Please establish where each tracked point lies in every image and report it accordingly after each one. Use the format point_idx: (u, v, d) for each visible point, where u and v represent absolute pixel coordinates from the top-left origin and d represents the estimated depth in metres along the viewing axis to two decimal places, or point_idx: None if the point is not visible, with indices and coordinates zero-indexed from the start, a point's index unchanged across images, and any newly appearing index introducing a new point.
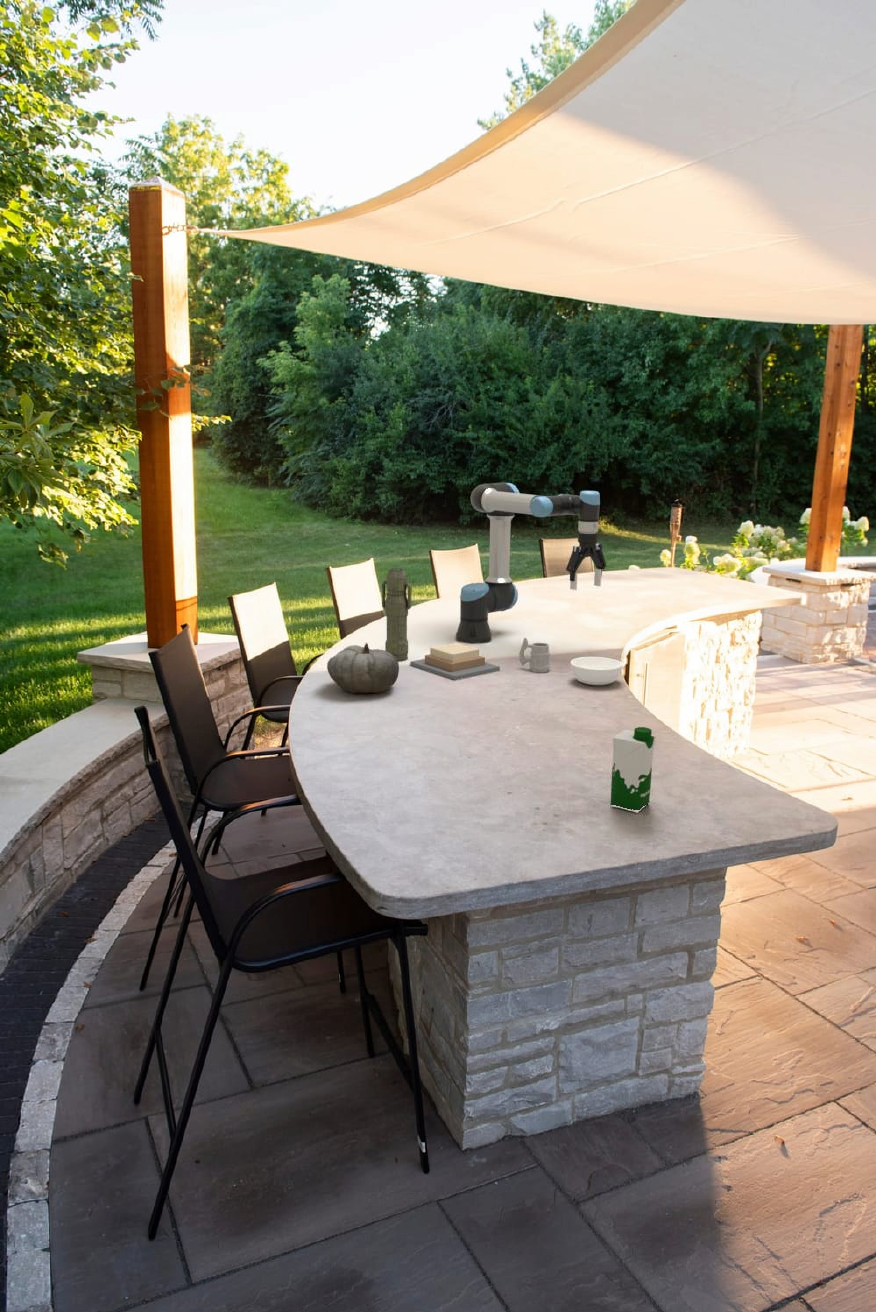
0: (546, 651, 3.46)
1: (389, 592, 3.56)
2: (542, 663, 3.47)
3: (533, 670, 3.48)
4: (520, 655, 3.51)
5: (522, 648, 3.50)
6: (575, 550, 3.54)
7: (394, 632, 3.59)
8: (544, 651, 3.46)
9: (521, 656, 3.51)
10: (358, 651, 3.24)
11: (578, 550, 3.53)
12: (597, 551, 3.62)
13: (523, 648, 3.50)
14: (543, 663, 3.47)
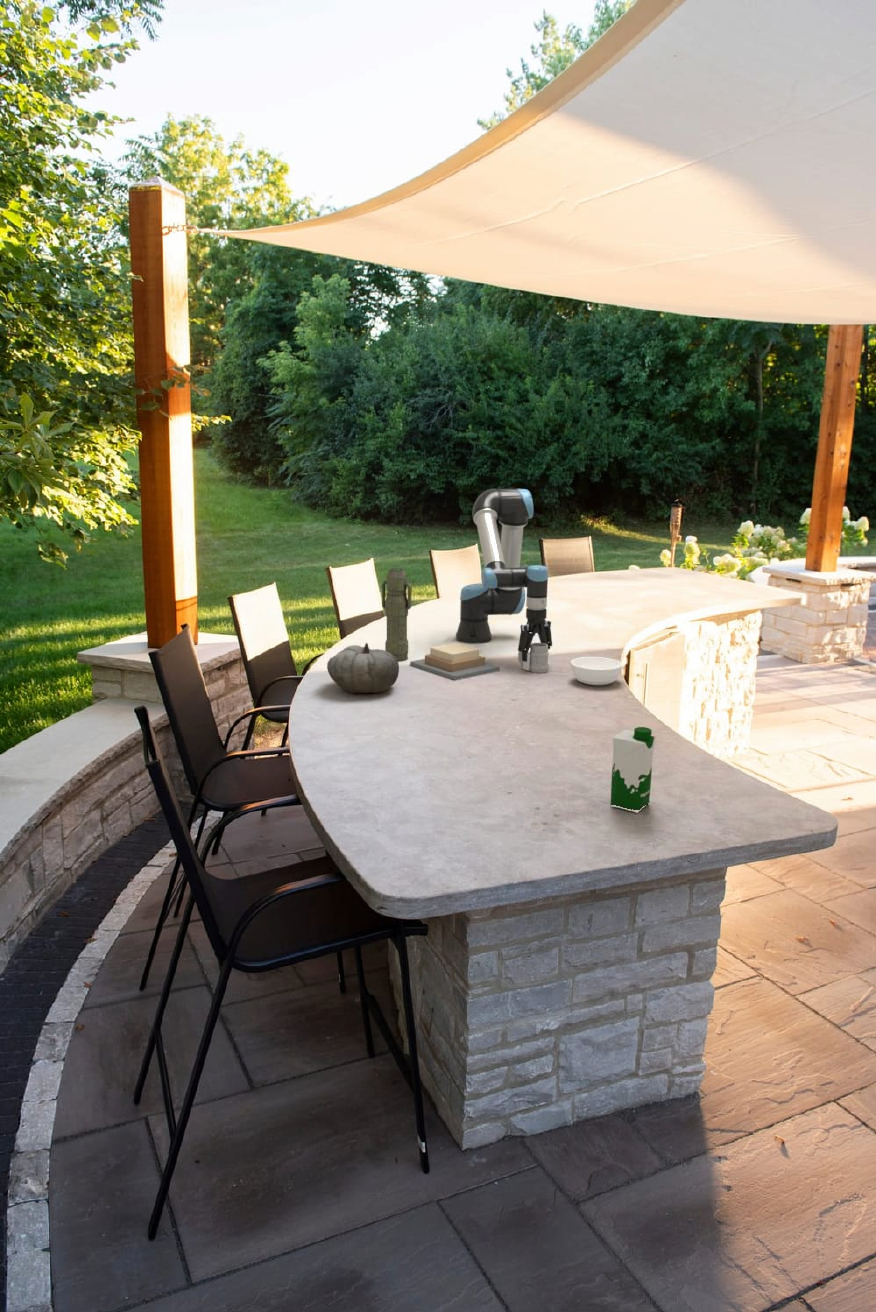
0: (545, 651, 3.46)
1: (389, 592, 3.56)
2: (541, 663, 3.46)
3: (532, 670, 3.48)
4: (519, 655, 3.51)
5: (521, 648, 3.50)
6: (523, 630, 3.43)
7: (394, 632, 3.59)
8: (543, 651, 3.46)
9: (520, 656, 3.51)
10: (358, 651, 3.24)
11: (526, 629, 3.43)
12: (545, 628, 3.51)
13: None
14: (542, 663, 3.46)
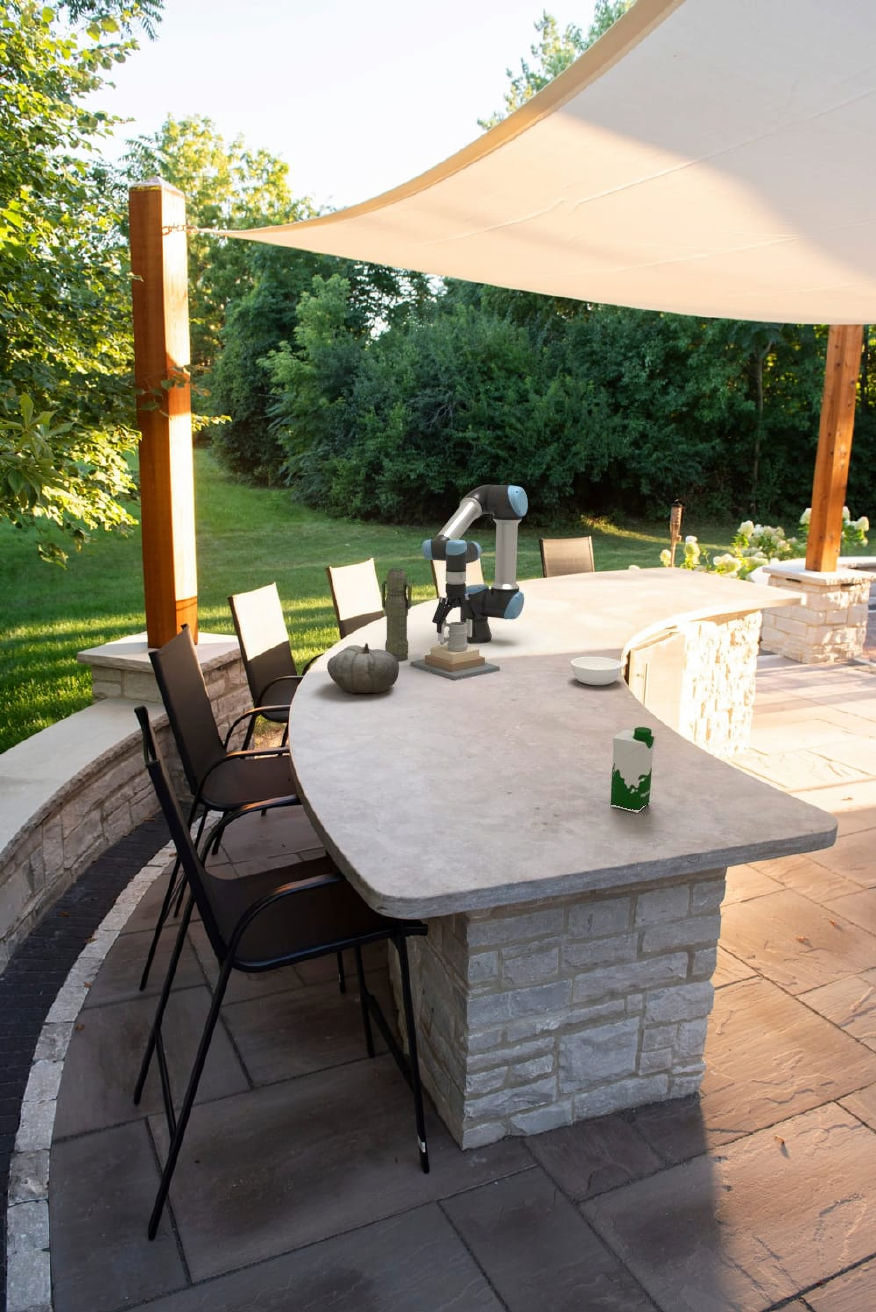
0: (463, 630, 3.45)
1: (389, 592, 3.56)
2: (458, 642, 3.45)
3: (450, 649, 3.47)
4: None
5: None
6: (441, 601, 3.42)
7: (394, 632, 3.59)
8: (460, 630, 3.44)
9: None
10: (358, 651, 3.24)
11: (444, 601, 3.41)
12: (467, 601, 3.50)
13: None
14: (460, 642, 3.45)
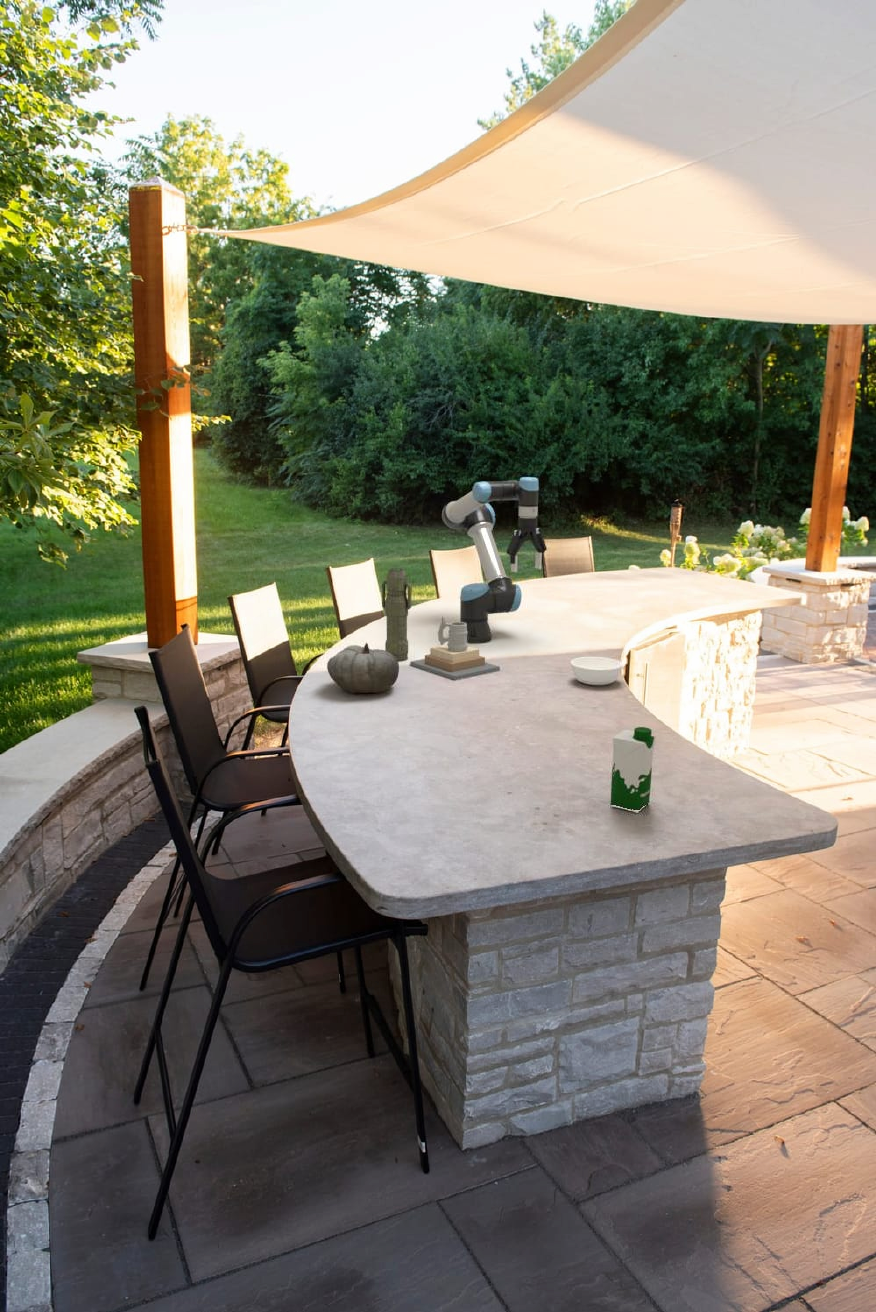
0: (463, 630, 3.45)
1: (389, 592, 3.56)
2: (458, 642, 3.45)
3: (450, 649, 3.47)
4: (439, 634, 3.50)
5: (440, 627, 3.49)
6: (515, 534, 3.70)
7: (394, 632, 3.59)
8: (460, 630, 3.44)
9: (440, 635, 3.50)
10: (358, 651, 3.24)
11: (518, 534, 3.69)
12: (537, 535, 3.78)
13: (441, 627, 3.49)
14: (460, 642, 3.45)
